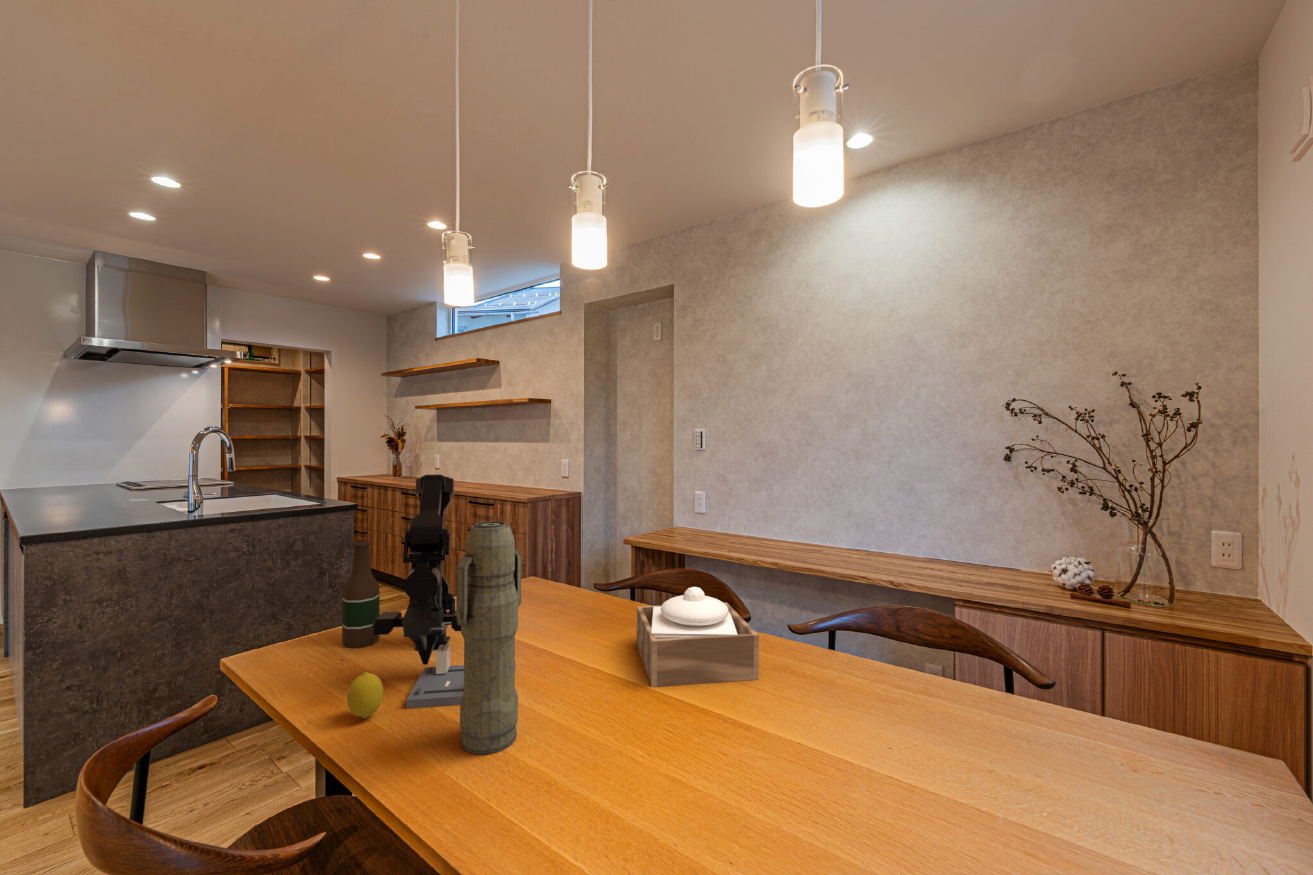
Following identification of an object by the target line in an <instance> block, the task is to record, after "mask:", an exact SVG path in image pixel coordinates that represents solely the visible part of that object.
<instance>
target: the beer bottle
mask: <svg viewBox="0 0 1313 875" xmlns="http://www.w3.org/2000/svg"><path fill="white" fill-rule="evenodd" d="M352 547H353V553H352V554H353V555H352V568H351V574H350V576H349V578H348V579H347V580H346V582H345V584H344V587H343V589H342V599H341V609H342V610H341V613H342V615H341V641H342V644H343V646H344V647H346V649H361V648H365V647H369V646H373V645H374V644H375V643H376V642H378V641H379V640H380V635H372V624H373V621H375V620H376V619H377V618H378V617H379V616H380V615H381V614H380V611H381V608H380V607H381V606H380V605H381V600H380V599H381V598H380V595H381V594H380V586H379V583H378V581H377V579H376V577H375V576H374V575H373V573H372V569H371V558H370V547H371V542H370V540H367V539H359V540H354V541H353V542H352Z"/></svg>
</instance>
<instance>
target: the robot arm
mask: <svg viewBox="0 0 1313 875" xmlns="http://www.w3.org/2000/svg"><path fill="white" fill-rule="evenodd" d="M414 494H415V496H416V497H418V502H419V507H418V508H419V509H418V514H417V515H416V516H414V517H413V518H411V520H410V524H409V527H408V528H409V529H406V530H405V534H404V535H405V536H404V545H403V556H402V564H409V563H410V571H409V573H408V575H407V576H406V579H405V582H404V587H403V588H404V592H405V594H406V595H407V596H408V598H409V599H408V605H407V608H406V611H405V613H404V616H403V615H402V611H382V612H381V614H380V616H379V617H378V618H377V619H376V620H375V621H373V624H372V635H379V636H382V635H384V636H386V635H389V634H390V633H391V632H392V631H394V628H402V631H403V637H404V638H407V639H408V638H409V639H410V640H411V641H412V642H413V644H414V646H415V651H417V653H418V655H419V658H420V660H421V663H422V665H428V664H429V661H430V659H431V657H432V654H433V651H434V650H437V649H438V648H439V646H440V645H449V644H448V643H449V642H450V639H451V636H447V628H448V626H450V627H451V628H452V629H451V630H454V631H455V632H461V626H460V625H457V613H456V598H455V597H454V595H453V592H450V584H449V583H448V582H447V579H446V578H445V577H444V561H446V560H447V556H449V555H450V547H451V546H450V544H451V534H450V532H449V530H448V528H445V513H446V512H447V510H448V509H449V507H450V506H451V504H452V496H454V495H455V480H454V478H453V477H449V476H445V475H443V474H440V473H439V474H438V473H437V474H424V475H421V476H420V477H419V478H416V479H415V493H414Z"/></svg>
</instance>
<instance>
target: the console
mask: <svg viewBox="0 0 1313 875" xmlns="http://www.w3.org/2000/svg"><path fill="white" fill-rule="evenodd" d="M516 663H517V662H516V661H515V670H516ZM463 694H464V664H460V665H450V667H449V669H448V671H447V673H445V674H436V666H427V667H424V669H423V670H422V672H421V674H420V676H419V677H418V679H417V681H416V682H415V684H414V686H413V688H412V689H411V691H410V693H409V694H408V696H407V698H406V699H405V702H406V703H405V709H417V708H418V709H419V708H432V707H433V708H434V707H445V706H460V702H461V700H462V697H463Z"/></svg>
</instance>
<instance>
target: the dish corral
mask: <svg viewBox="0 0 1313 875" xmlns="http://www.w3.org/2000/svg"><path fill="white" fill-rule="evenodd" d="M723 603H724V604H725V605H726V606H727V607H728V611H729V613H730V614H731V617H732V620H733V623H734V625H735V628H736V631H737V634H738V635H723V636H705V637H687V638H669V639H656V637H655V635H654V633H651V630H652V618H653V607H661V606H662V604H661V605H640V606H636V648H637V650H638V653H639V655H640V658H641V660H642V664H643V666H644V669H645V672H646V675H647V678H648V681H649V683H650V686H651V688H657V687H658V688H659V687H671V686H685V685H686V686H687V685H699V684H700V685H701V684H712V683H713V684H715V683H728V682H742V681H753V680H754V681H755V680H759V671H760V670H759V667H760V666H759V663H760V662H759V661H760V660H759V657H760V656H759V655H760V652H759V649H760V644H759V643H760V635H759V634H758V633H757V632H756V631H755V629H753V627H752V626H750V625H749V624H748V622H746V621H745V619H743V618H742V617H741V615H740V614H739V613H738V612H737V611H735V609H734V608H733V607H732V606H731V605H730V604H729V603H728V602H723Z"/></svg>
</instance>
